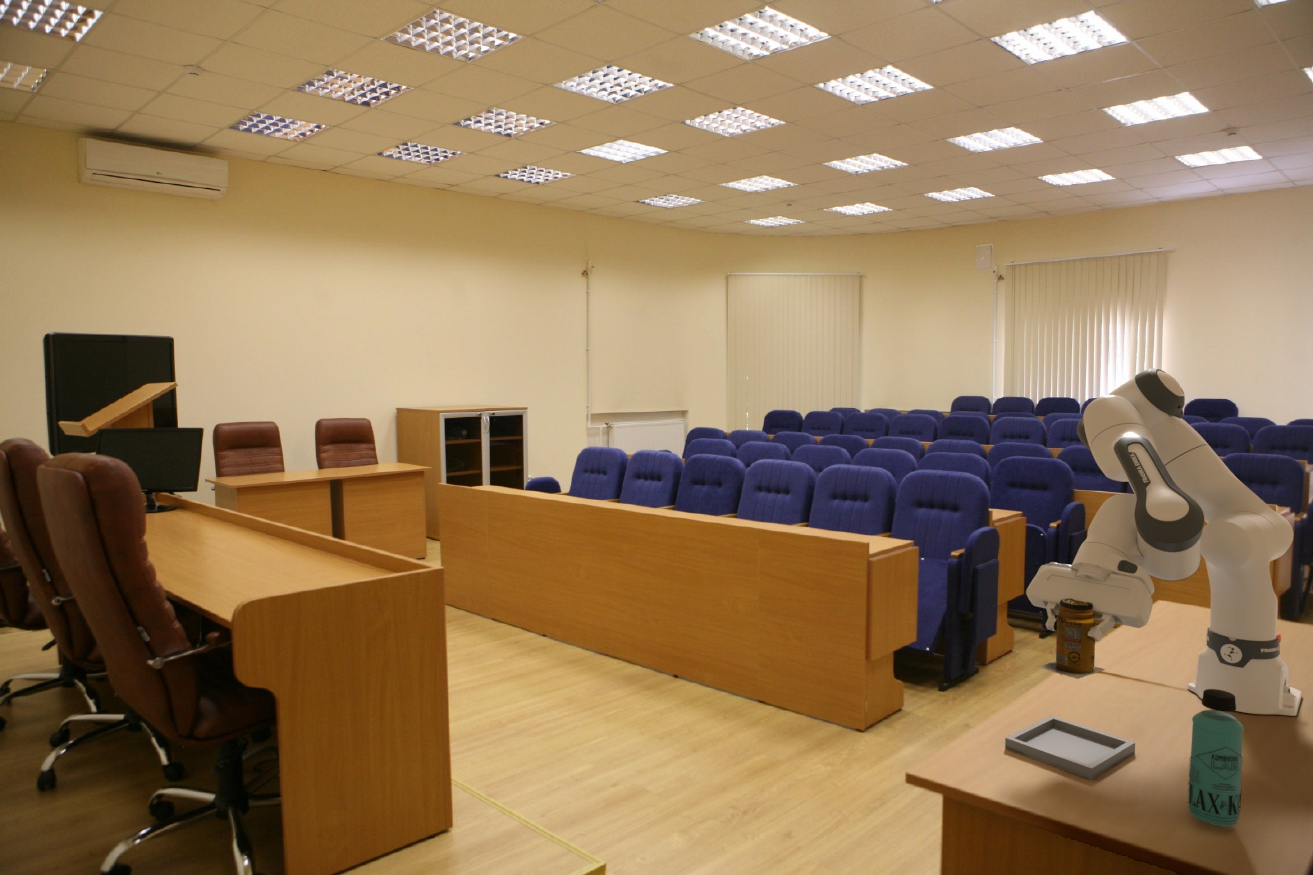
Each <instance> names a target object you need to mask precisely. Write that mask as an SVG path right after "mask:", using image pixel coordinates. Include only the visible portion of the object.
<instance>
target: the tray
mask: <svg viewBox="0 0 1313 875" xmlns="http://www.w3.org/2000/svg"><path fill="white" fill-rule="evenodd" d="M1004 740H1005V741H1004V744H1005V745H1004V749H1005V750H1007V751H1011V752H1013V753H1016V754H1019V755H1021V756H1024V757H1027V758H1029V759H1032V760H1035V761H1038V762H1041V763H1043V764H1046V765H1049V766H1051V767H1054V768H1057V769H1059V770H1062V771H1065V772H1067V773H1069V774H1073V775H1076V776H1078V777H1081V778H1084V779H1087V780H1090V781H1093V780H1095V779H1096V778H1098V777H1099V776H1101V775H1103V774H1105V773H1106V772H1107V771H1109V770H1110V769H1113V768H1114V767H1116V766H1117V765H1119V764H1121V763H1122V762H1124V761H1126V760H1127V759H1128V758H1130V757H1132V756H1133V755H1135V754H1136V742H1135V741H1132V740H1129V739H1125V738H1122V737H1119V736H1115V735H1114V734H1113V735H1112V734H1110V733H1106V732H1104V731H1100V730H1098V729H1097V730H1096V729H1094V728H1091V727H1087V726H1085V725H1081V724H1078V723H1074V722H1073V721H1069V720H1066V719H1063V718H1059V717H1056V716H1053V715H1050V716H1047V717H1046V718H1043V719H1041V720H1039V721H1037V722H1035V723H1033V724H1032V725H1031V724H1030V725H1028V726H1027V727H1025V728H1023V729H1021V730H1019V731H1016V732H1014V733H1012V734H1010V735H1008V736H1007V737H1005V739H1004Z"/></svg>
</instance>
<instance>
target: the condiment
mask: <svg viewBox="0 0 1313 875" xmlns="http://www.w3.org/2000/svg"><path fill="white" fill-rule="evenodd" d="M1056 619H1057V631H1056V643H1055V644H1056V648H1055V651H1056V652H1055V661H1054V662H1053V661H1051V662H1048V663H1044V664H1041V665H1038V666H1037V667H1039V668H1041V669H1043V670H1047V671H1050V672H1053V673H1055V674H1059V675H1060V676H1067V677H1069V678H1074V679H1076V680H1080V679H1081V678H1082V679H1083V678H1084V677H1087V676H1091V675H1094V674H1098V673H1100V672H1103V671H1104V670H1105V668H1102V667H1097V666H1095V658H1096V657H1095V651H1096V649H1095V648H1096V641H1095V640H1091V639H1090V638H1089V637H1088V632H1089V631H1090V627H1091V626H1092V627H1096V619H1094V617H1093V604H1092V603H1091V602H1083V601H1078V600H1074V599H1071V598H1066V599H1062V600H1061V601H1060V609H1059V613H1058V615H1056Z"/></svg>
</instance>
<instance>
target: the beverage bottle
mask: <svg viewBox="0 0 1313 875" xmlns="http://www.w3.org/2000/svg"><path fill="white" fill-rule="evenodd" d="M1201 704H1202V706H1203V707H1205V708H1206V709H1205V710H1204V709H1203V710H1202V711H1200V712H1197V713H1196V714H1194V715H1193V716H1192V717H1191V718H1192V727H1191V728H1192V729H1191V732H1192V733H1191V746H1190V747H1191V748H1190V757H1189V759H1188V760H1189V771H1188V780H1187V783H1188V791H1187V797H1188V798H1187V802H1186V804H1187V808H1188V811H1189V813H1190V815H1192V816H1193V817H1194V818H1196V819H1197V820H1200V821H1202V822H1205V823H1208V824H1211V825H1217V826H1219V827H1220V826H1222V827H1229V826H1234V825H1236V824H1237V823H1238V822H1239V819H1240V815H1241V814H1240V813H1241V810H1240V809H1241V806H1242V805H1241V804H1242V803H1241V802H1242V792H1241V787H1242V786H1241V785H1242V782H1243V781H1242V777H1243V775H1242V765H1243V759H1244V757H1243V754H1242V753H1243V737H1244V736H1243V735H1244V728H1245V727H1244V725H1243V724H1242V723H1241V722H1240V721H1239V720H1238V719H1237V718H1236V717H1235V715H1232V714H1231V712H1236V711H1235V710H1236V701H1235V696H1234V695H1233V694H1232V693H1229V692H1227V691H1223V690H1217V689H1207V690H1204V692H1203V699H1201ZM1207 708H1208V709H1207Z"/></svg>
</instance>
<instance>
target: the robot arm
mask: <svg viewBox="0 0 1313 875" xmlns="http://www.w3.org/2000/svg"><path fill="white" fill-rule="evenodd" d="M1185 401H1186V398H1185V391H1184V390H1183V389H1182V387H1181V385H1180V383H1179V382H1178V381H1177V380H1176V378H1175V377H1173V375H1171V374H1169V373H1167V372H1166V371H1164V370H1162V369H1159V368H1154V367H1151V368H1149V369H1145V370H1142V371H1141V372H1139V373H1137V374H1135V375H1134V377H1133V378H1131V379H1130V380H1127V381H1126V382H1125V383H1123V384H1122V385H1120V386H1118V387H1117V388H1116V389H1114V390H1112V391H1111V392H1110V393H1109V394H1107V395H1102V396H1099V397H1098V398H1094V399H1093V400H1092V401H1091V402H1089V403H1088V405H1087V406H1086V407H1085V409H1084V412H1083V416H1082V417H1081V418H1080V420H1079V421H1078V423H1077V426H1076V435H1077V437H1078V438H1079V440H1080V442H1081V443H1082V445H1083V446H1085V448H1086V449H1087V450H1088V451H1090V452H1091V454H1092V456H1093V459H1094V461H1095V463H1096V464H1097V466H1098V468H1099V469H1100V470H1101V472H1102V473H1103V474H1104V476H1105V477H1106V478H1108V479H1110V480H1112V481H1116V482H1126V483H1127V482H1128V483H1129V485H1130V487H1131V489H1132V491H1133V493H1134V494H1132V493H1117V494H1114V495H1112V496H1110V497H1109V498H1107V499H1106V500H1105V501H1104V502H1102V504H1101V505H1100V507H1099V508H1098V510H1097V511H1096V513H1095V515H1094V517H1093V518H1092V521H1091V522H1090V525H1089V527H1088V529H1087V535H1086V536H1087V537H1086V539H1084V541H1083V542H1082V543H1081V545H1080V547H1079V548H1078V550H1077V553H1076V555H1075V557H1074V559H1073V562H1072V564H1067V563H1058V562H1055V561H1051V562H1049V563H1045V564H1042V565H1041V566H1040V567H1039V568H1038V570H1037V573H1036V574H1035V575H1034V577H1033V579H1032V580H1031V582H1029V585H1028V587H1027V588H1026V590H1025V595H1026V596H1027V598H1028V600H1029V601H1030V603H1031V605H1033V606H1034V607H1038V608H1042V609H1046V613H1047V614H1046V615H1047V617H1048V618H1047V620H1046V622H1045V627H1046V629H1047V631H1048V630H1049V631H1052V632H1057V617H1055V616H1058V614H1059V609H1060V601H1061V600H1062V599H1066V598H1071V599H1074V600H1078V601H1083V602H1091V603H1092V604H1093V617H1094V619H1095V620H1098V621H1101V622H1099V624H1098V625H1097V626H1096V625H1095V627H1092V626H1091V627H1090V631H1089V632H1088V637H1089V638H1090V639H1091V640H1095V642H1100V641H1101V639H1102V637H1103V635H1104V634H1106V633H1108V632H1109V631H1110V630H1112V629H1113V628H1114V626H1115V624H1117V625H1122V626H1128V627H1130V628H1131V627H1132V628H1136V629H1141V628H1143V627H1146V626H1147V625H1148V623H1149V620H1150V616H1151V614H1152V611H1153V604H1154V603H1153V602H1154V601H1153V598H1152V596H1153V595H1154V593H1155V585H1154V582H1153V580H1152V578H1155V579H1158V580H1161V581H1166V582H1179V581H1183V580H1186V579H1189V578H1190V577H1192V576H1193V575H1195V574H1196V573H1197V571H1198V570H1199V568H1200V566H1201V562H1202V561H1201V557H1203V559H1204V562H1205V567H1206V571H1207V576H1208V581H1209V587H1210V588H1209V589H1210V611H1209V613H1210V615H1209V621H1210V622H1209V627H1208V628H1207V631H1206V632H1207V633H1206V636H1205V639H1206V646H1207V647H1206V648H1205V649H1202V650H1201V651H1200V652H1198V655H1197V663H1196V673H1195V674H1196V675H1195V680H1194V681H1193V682H1189V683H1187V687H1186V688H1187V689H1188V690H1189V691H1191V692H1192V693H1195V694H1196V695H1197V696H1198V697H1199V698H1200V699H1201V700H1202V699H1203V692H1204V690H1207V689H1217V690H1223V691H1227V692H1229V693H1232V694H1233V695H1234V696H1235V701H1236V710H1235V711H1234V712H1240V713H1244V714H1245V713H1247V714H1254V715H1280V716H1281V715H1282V716H1291V717H1292V716H1293V717H1294V716H1297V714H1298V711H1299V708H1300V704H1301V700H1302V696H1303V695H1302V691H1301V690H1300V689H1297V688H1295V687H1292V686H1289V678H1290V677H1289V676H1290V673H1289V672H1290V668H1289V667H1288V666H1287V664H1286V663H1285V662H1284V661H1283V659H1282V658H1281V657H1280V654H1281V650H1280V649H1281V641H1282V634H1281V633H1277V631H1278V629H1277V628H1278V610H1279V609H1278V605H1279V604H1278V603H1279V600H1278V596H1277V594H1276V593H1275V590H1274V586H1273V582H1272V578H1271V577H1272V576H1271V572H1270V564H1271V562H1272V561H1274V560H1277V559H1279V558H1280V557H1282V556H1283V555H1284V554H1285V553H1286V552H1287V551H1288V550H1289V548H1290V547H1291V545H1292V543H1293V541H1294V530H1293V526H1292V525H1291V523H1290V521H1288V519H1287V518H1286V517H1284V516H1283V515H1282V514H1280V513H1278V512H1276V511H1275V510H1274V509H1273V508H1271V506H1270V505H1268V503H1266V502H1265V501H1264V500H1263V499H1261V497H1259V496H1258V495H1257V494H1256V493H1255V492H1254V491H1252V490H1251V489H1250V488H1249V487H1248V486H1247V485H1245V484H1244V483H1243V482H1242V481H1241V480H1240V479H1239V478H1237V477H1236V476H1235V474H1234V473H1233V472H1232V471H1231V470H1230V469H1229V467H1228V466H1227V465H1226V464H1225V463H1224V462H1223V460H1222V459H1221V458H1220V456H1218V454H1217V453H1216V452H1215V451H1214V450H1213V448H1212V447H1211V446H1210V445H1209V443H1207V441H1206V440H1205V438H1203V437H1202V435H1201V434H1200V433H1198V431H1197V430H1195V428H1194V427H1193V426H1191V425H1190V423H1188V422H1187V421H1186V420H1185V419H1183V417H1184V411H1183V408H1184V406H1185ZM1205 523H1207V524H1206V525H1205ZM1151 577H1152V578H1151Z"/></svg>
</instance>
